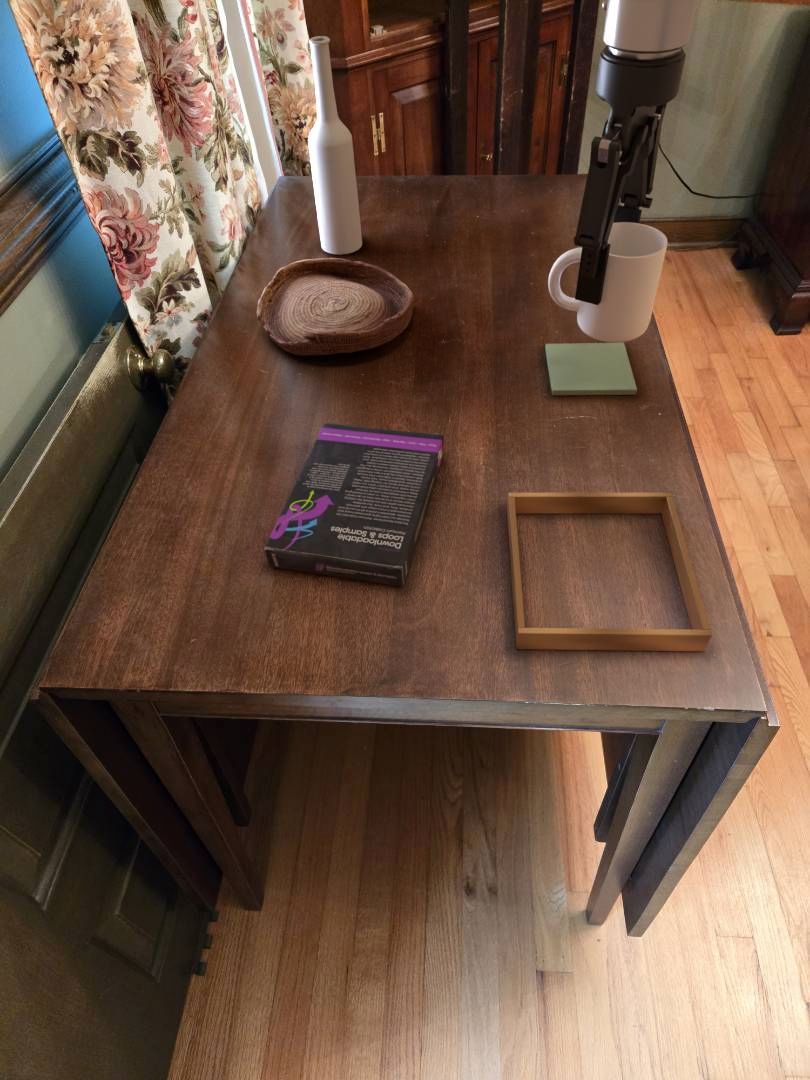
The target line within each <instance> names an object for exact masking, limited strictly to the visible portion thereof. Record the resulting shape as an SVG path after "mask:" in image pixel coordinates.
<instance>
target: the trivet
mask: <svg viewBox="0 0 810 1080" xmlns="http://www.w3.org/2000/svg"><path fill="white" fill-rule="evenodd" d="M625 344H626V343H625V342H620V343H612V342H582V343H581V342H577V343H574V342H573V343H567V342H566V343H545V345H544V346H545V348H544V349H545V356H546V363H547V364H546V365H547V369H548V370H547V371H548V376H549V383H550V390H551V396H619V395H620V396H627V395H628V396H631V395H633V396H635V395H636V396H637V392H638V387H637V384H636V380H635V377H634V373H633V370H632V366H631V363H630V362H631V361H630V360H629V356H628V355H629V354H628V352H627V348H626V345H625Z"/></svg>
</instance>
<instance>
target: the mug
mask: <svg viewBox="0 0 810 1080" xmlns="http://www.w3.org/2000/svg"><path fill="white" fill-rule="evenodd" d="M668 243H669V242H668V238H667V236H666V234H665V233H663V232H662V231H661V230H659V229H658V228H656V227H654V226H650V225H648V224H643V223H631V222H617V223H613V225H612V228H611V232H610V235H609V238H608V244H611V245H610V251H609V257H608V263H607V268H606V274H605V280H604V286H603V292H602V298H601V302H600V304H599V305H595V304H591V303H587V302H583V301H580V300H576V299H575V297H572V296H568V295H567V294H565V293H564V292H563V291H562V289H561V277H562V274H563V272H564V271H565V270H566V268H567V267H569V266H570V265H572V264H576V263H580V260H581V253H582V247H580V246H579V247H575V248H572V249H570V250H567V251H566V252H563V253H562V254H561V255H560V256H559V257H558V258H557V259H556V260H555V262H554V263H553V264H552V266H551V268H550V271H549V274H548V279H547V282H548V283H547V286H548V292H549V295H550V297H551V298H552V300H553V301H554V302H555V303H554V304H556V305H558V306H559V307H561V309H565V310H568V311H571V312H576V314H577V315H576V321H577V325H578V327H579V329H580V330H581V331H582V332H583V333H584V334H585V335H586V336H588V337H590V338H591V339H594V340H597V341H600V342H603V343H627V342H631V341H633V340H636V339H638V338H639V337H641V336H642V335H644V334H645V332H646V331H647V330H648V328H649V325H650V323H651V319H652V315H653V311H654V308H655V307H654V306H655V302H656V298H657V293H658V289H659V284H660V280H661V275H662V271H663V267H664V262H665V259H666V258H665V257H666V253H667V248H668Z"/></svg>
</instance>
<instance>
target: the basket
mask: <svg viewBox="0 0 810 1080" xmlns="http://www.w3.org/2000/svg"><path fill="white" fill-rule="evenodd" d="M414 304H415V301H414V294H413V292H412V291H411V289H410V288H409V287H408V286H407V285H406V284H405V283H404V282H402V280H401V279H400V278H399V277H397V276H395V275H394V274H393V273H391V272H389V271H387V270H386V269H384V268H382V267H379V266H378V265H374V264H372V263H366V262H364V261H360V260H358V261H357V260H354V261H352V260H349V259H346V258H341V257H340V258H339V257H321V258H310V259H308V258H305V259H301V260H298V261H297V260H296V261H294V262H292V263H289V264H287V265H284V266H282V267H280V268H279V269H278V270H277V271H276V272H275V274H274V275H273V277H272V280H270V281H269V283H268V284H267V286H265V287H264V289H263V291H262V293H261V295H260V298H259V299H258V300H257V307H256V317H257V319H258V321H259V323H260V324H261V326H262V327H263V330H264V331H265V333H266V334H267V336H268V338H270V339H271V340H272V342H274V343H275V344H276V345H277V346H278V347H280V348H281V349H283V351H285V352H287V353H290V354H292V355H295V356H302V357H305V356H324V355H325V356H326V355H327V356H328V355H334V354H335V355H336V354H348V353H349V354H350V353H356V352H360V351H365V350H372V349H376V348H378V347H380V346H383V345H385V344H386V343H389V342H391V341H393V340H394V339H395V338H396V337H398V336H399V335H400V334H402V332H403V331H404V330H405V329H407V327H408V326H409V323H410V321H411V318H412V315H413V311H414V310H413V309H414Z"/></svg>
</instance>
